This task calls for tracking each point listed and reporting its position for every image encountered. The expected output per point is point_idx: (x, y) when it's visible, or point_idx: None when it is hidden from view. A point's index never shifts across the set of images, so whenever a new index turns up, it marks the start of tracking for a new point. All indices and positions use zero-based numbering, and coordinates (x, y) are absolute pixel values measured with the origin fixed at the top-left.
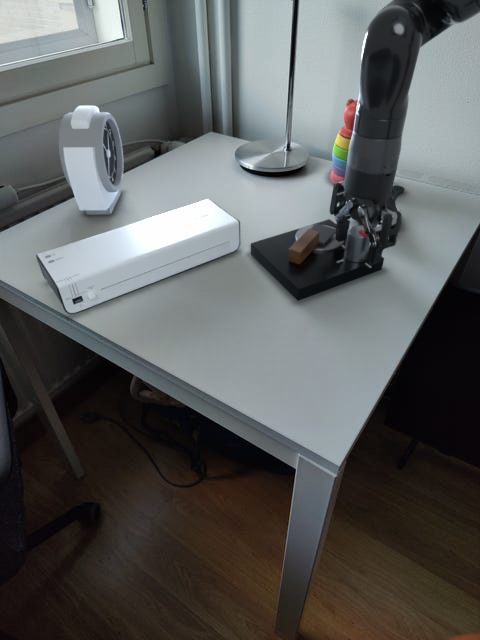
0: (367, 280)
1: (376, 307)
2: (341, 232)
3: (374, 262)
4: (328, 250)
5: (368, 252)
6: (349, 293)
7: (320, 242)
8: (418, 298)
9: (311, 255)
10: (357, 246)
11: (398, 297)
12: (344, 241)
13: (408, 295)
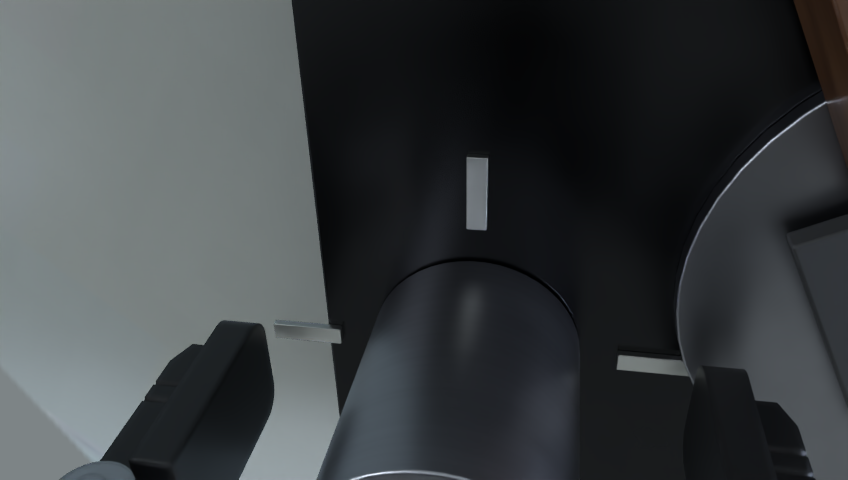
0: (310, 251)
1: (15, 95)
2: (709, 464)
3: (177, 362)
4: (698, 220)
5: (204, 402)
6: (219, 34)
7: (844, 227)
8: (47, 353)
9: (764, 8)
10: (358, 401)
11: (82, 279)
12: None
13: (85, 333)
